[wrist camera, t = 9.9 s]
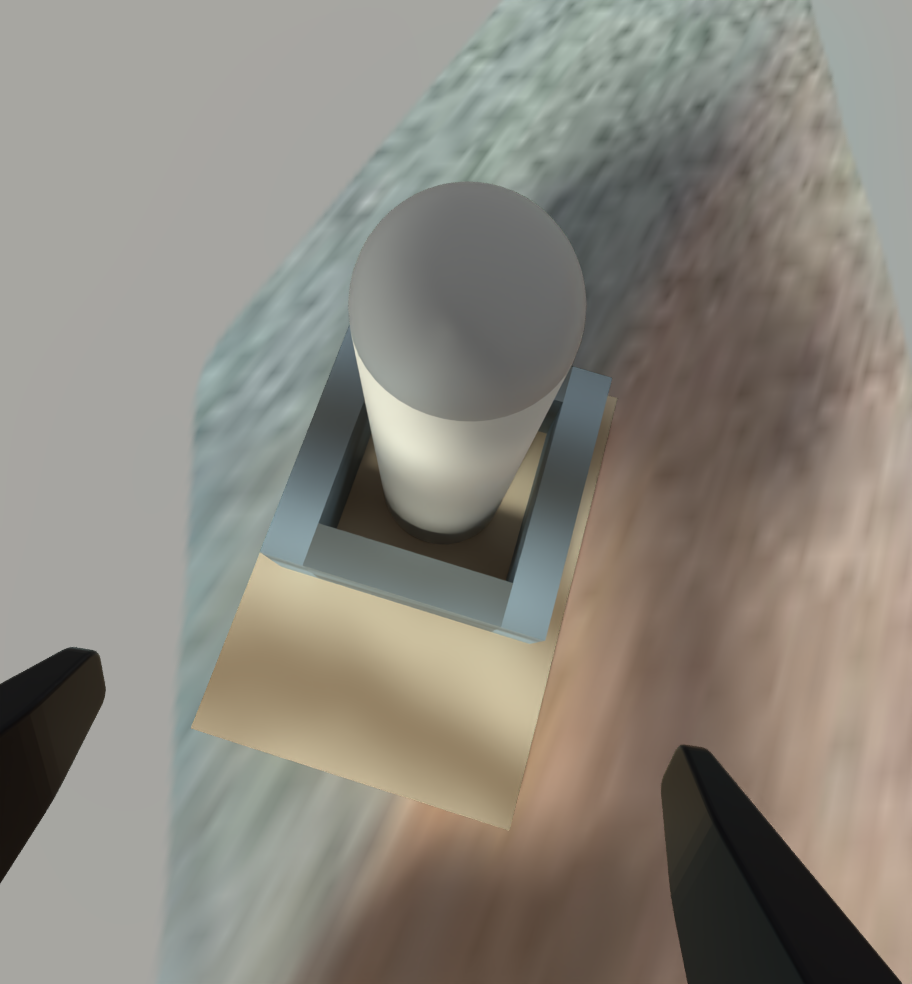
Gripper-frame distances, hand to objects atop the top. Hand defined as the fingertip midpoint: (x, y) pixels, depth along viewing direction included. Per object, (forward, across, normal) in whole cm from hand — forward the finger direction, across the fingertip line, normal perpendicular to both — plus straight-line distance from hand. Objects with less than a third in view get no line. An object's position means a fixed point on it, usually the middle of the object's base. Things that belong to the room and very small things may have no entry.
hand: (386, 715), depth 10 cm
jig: (+13, 0, +6) cm, 14 cm away
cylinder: (+14, 0, +3) cm, 14 cm away
